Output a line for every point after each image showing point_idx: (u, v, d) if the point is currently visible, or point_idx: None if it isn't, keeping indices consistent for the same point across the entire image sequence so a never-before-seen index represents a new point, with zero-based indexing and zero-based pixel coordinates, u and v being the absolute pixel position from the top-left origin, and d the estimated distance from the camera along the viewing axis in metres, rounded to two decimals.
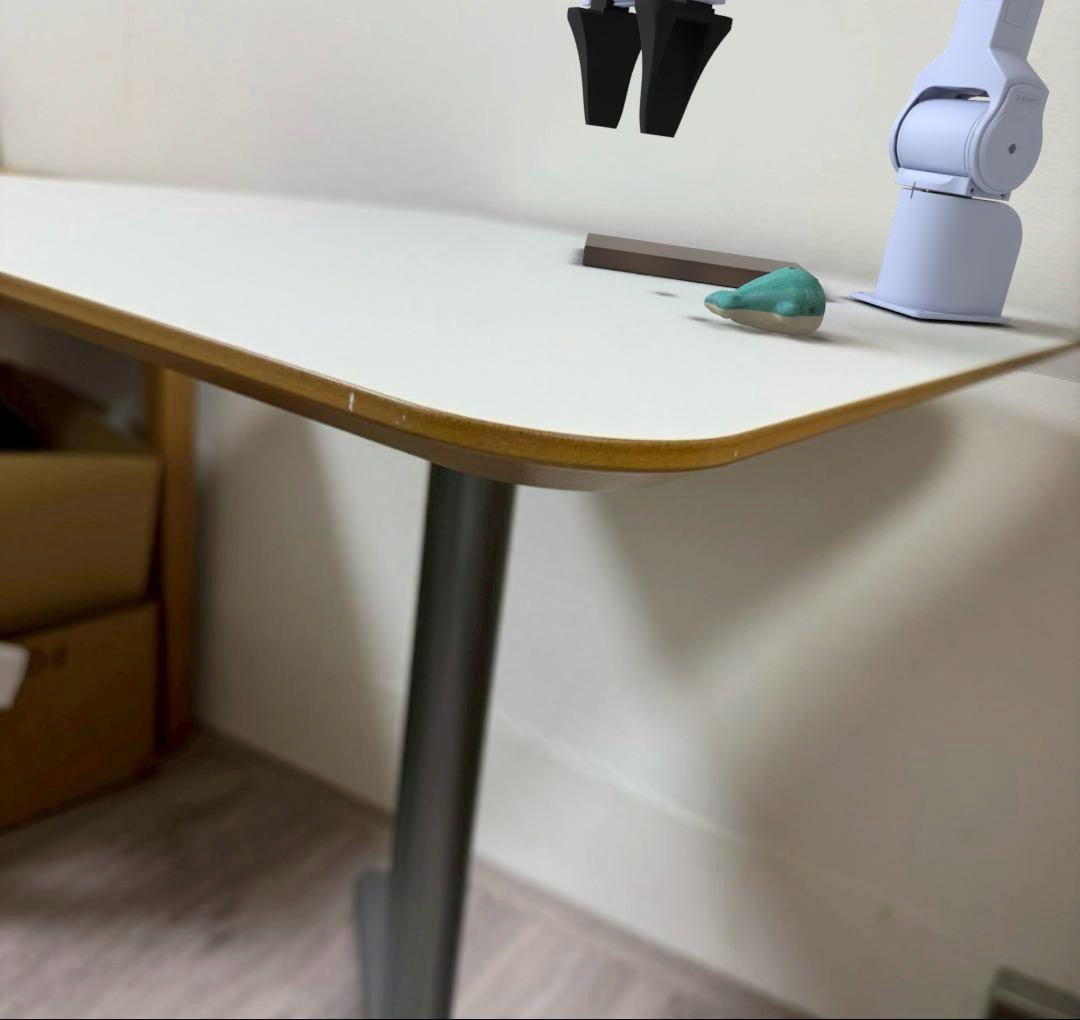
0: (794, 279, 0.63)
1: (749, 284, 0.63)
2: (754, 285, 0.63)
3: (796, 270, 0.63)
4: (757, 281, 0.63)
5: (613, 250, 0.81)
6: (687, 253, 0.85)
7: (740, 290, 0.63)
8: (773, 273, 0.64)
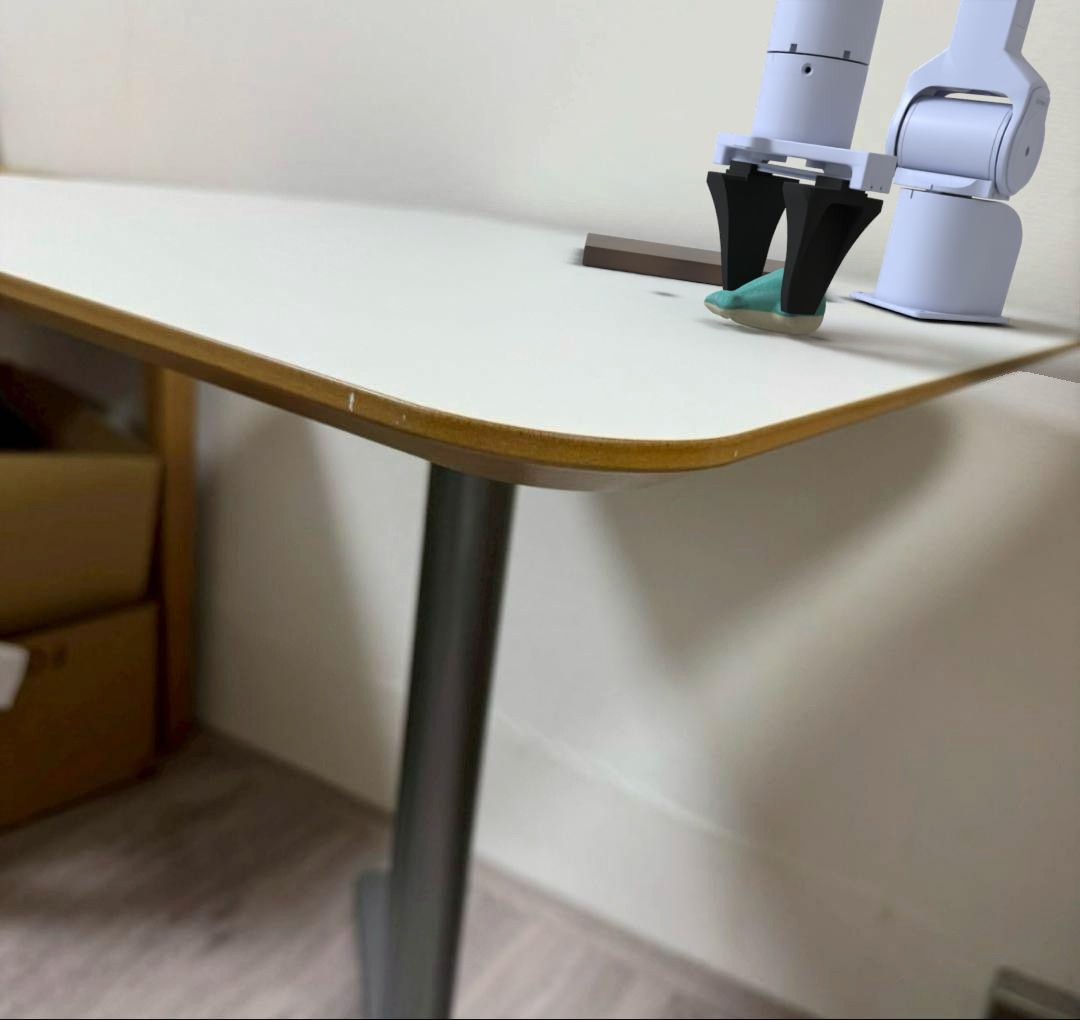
0: None
1: (749, 284, 0.63)
2: (754, 285, 0.63)
3: None
4: (757, 281, 0.63)
5: (613, 250, 0.81)
6: (687, 253, 0.85)
7: (740, 290, 0.63)
8: (773, 273, 0.64)
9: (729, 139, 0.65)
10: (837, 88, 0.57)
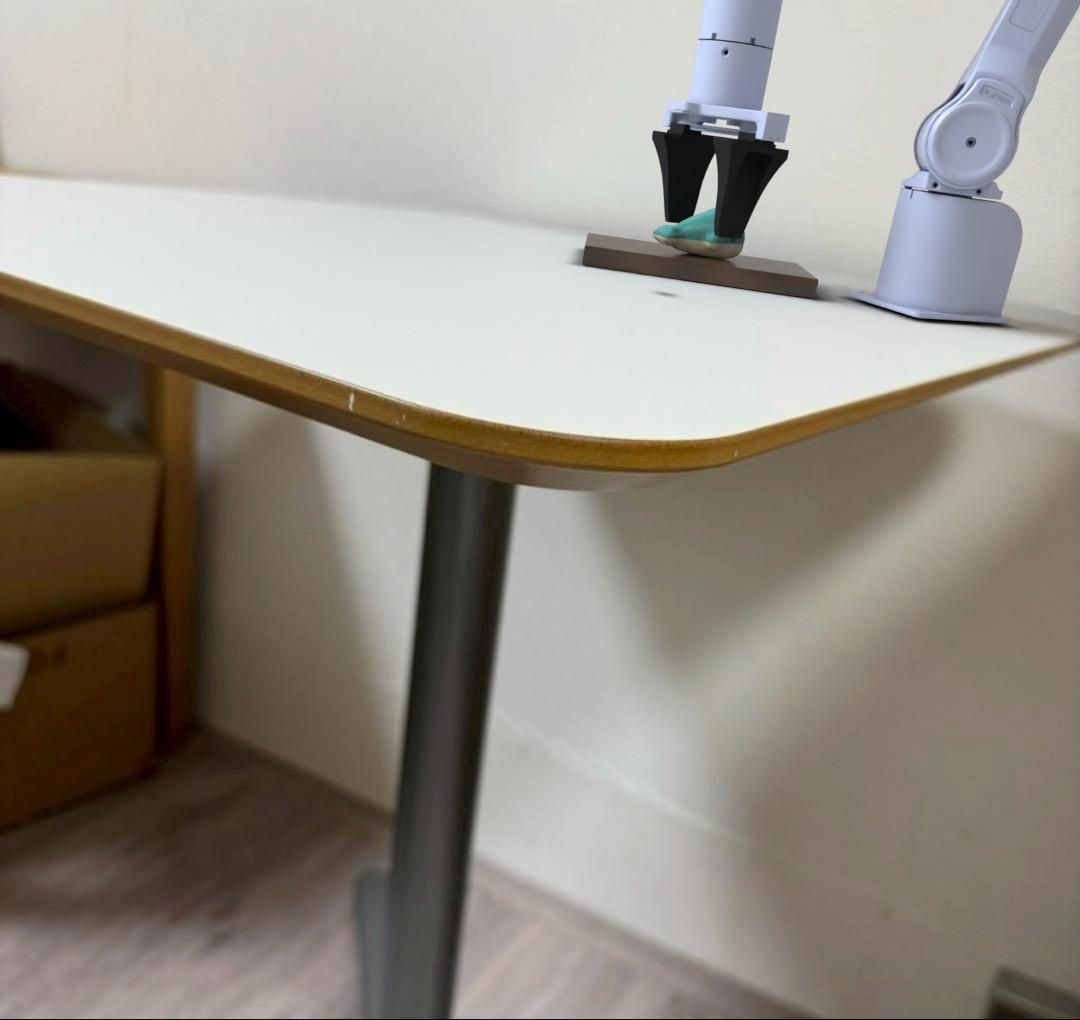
0: None
1: (686, 220, 0.84)
2: (690, 220, 0.83)
3: None
4: (692, 217, 0.84)
5: (613, 250, 0.81)
6: (687, 253, 0.85)
7: (679, 224, 0.83)
8: (704, 212, 0.84)
9: (673, 107, 0.85)
10: (748, 66, 0.78)
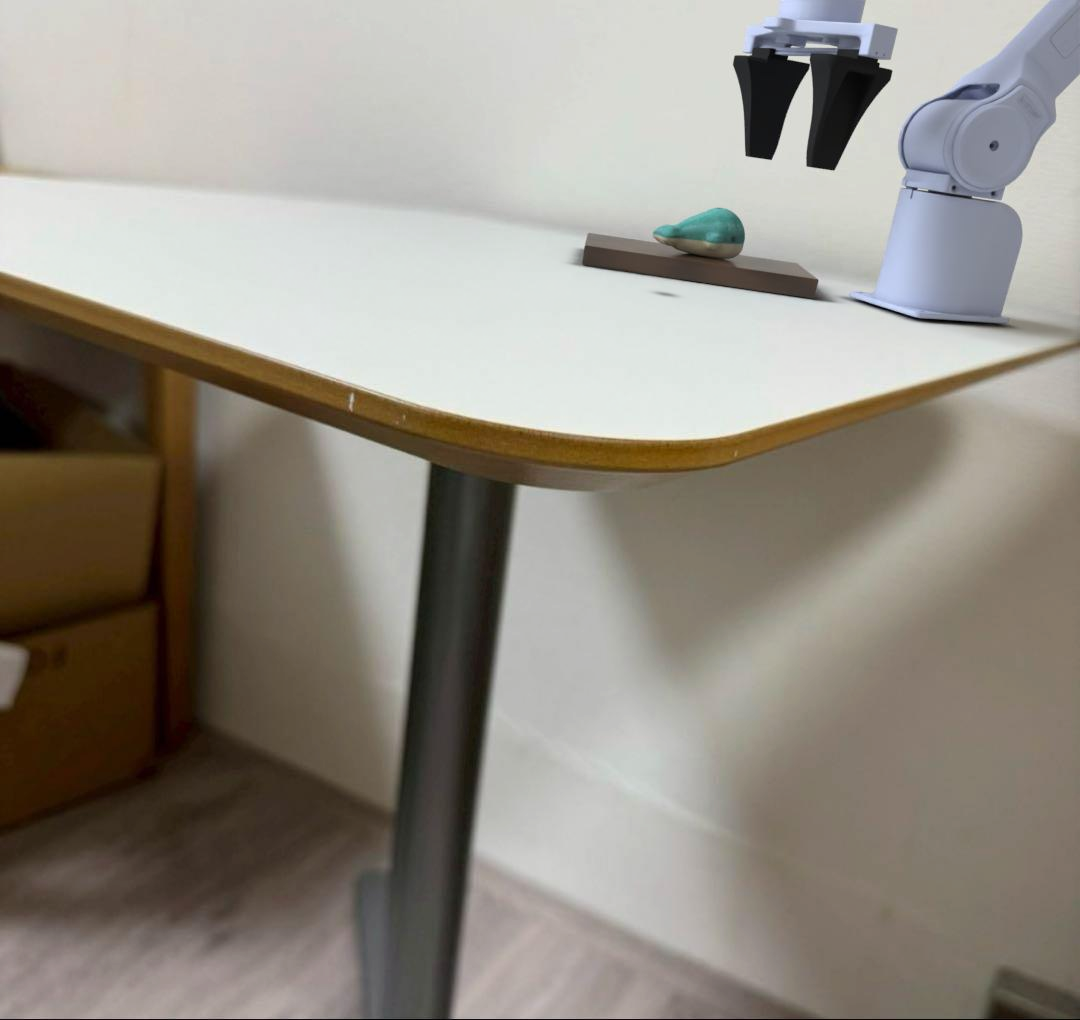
0: (720, 216, 0.83)
1: (686, 220, 0.84)
2: (690, 220, 0.83)
3: (722, 209, 0.84)
4: (692, 217, 0.84)
5: (613, 250, 0.81)
6: (687, 253, 0.85)
7: (679, 224, 0.83)
8: (704, 212, 0.84)
9: (758, 29, 0.78)
10: None
